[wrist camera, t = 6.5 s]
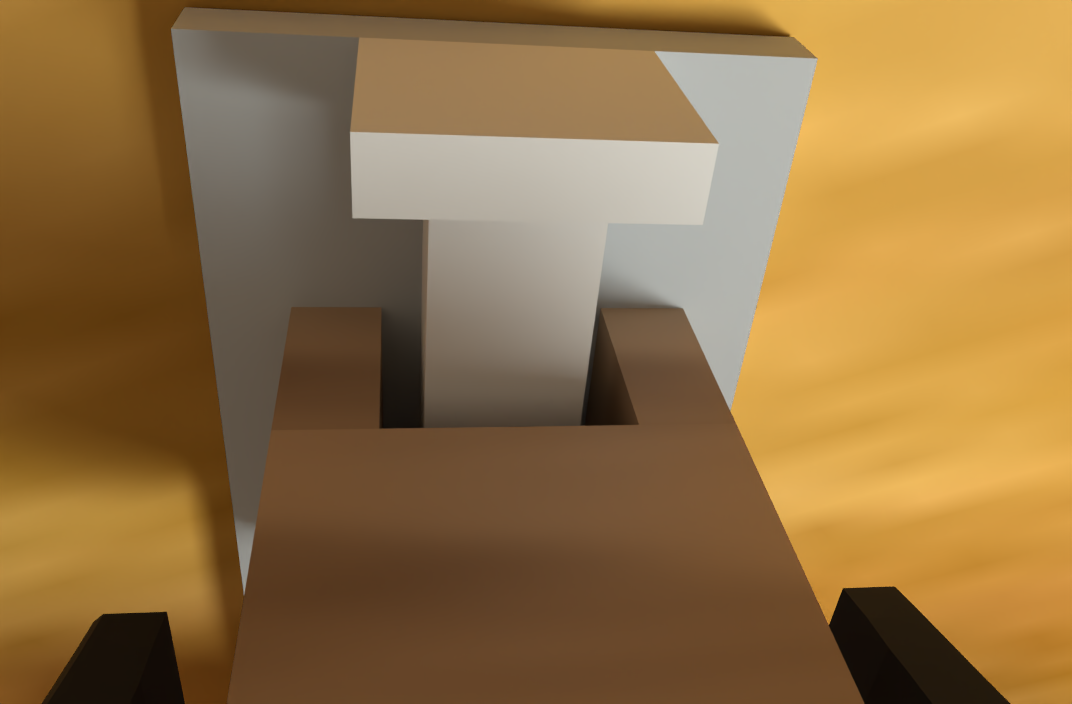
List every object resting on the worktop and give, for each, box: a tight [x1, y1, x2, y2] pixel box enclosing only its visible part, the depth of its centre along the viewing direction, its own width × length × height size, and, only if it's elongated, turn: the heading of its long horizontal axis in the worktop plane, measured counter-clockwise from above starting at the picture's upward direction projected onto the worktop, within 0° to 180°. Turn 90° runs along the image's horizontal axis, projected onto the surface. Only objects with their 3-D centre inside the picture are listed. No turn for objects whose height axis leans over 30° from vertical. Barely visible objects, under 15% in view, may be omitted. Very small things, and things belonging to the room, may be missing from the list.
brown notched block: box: [227, 307, 864, 704], centre depth 11 cm, size 4×5×6 cm
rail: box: [171, 7, 818, 594], centre depth 14 cm, size 16×7×3 cm, turn 175°
